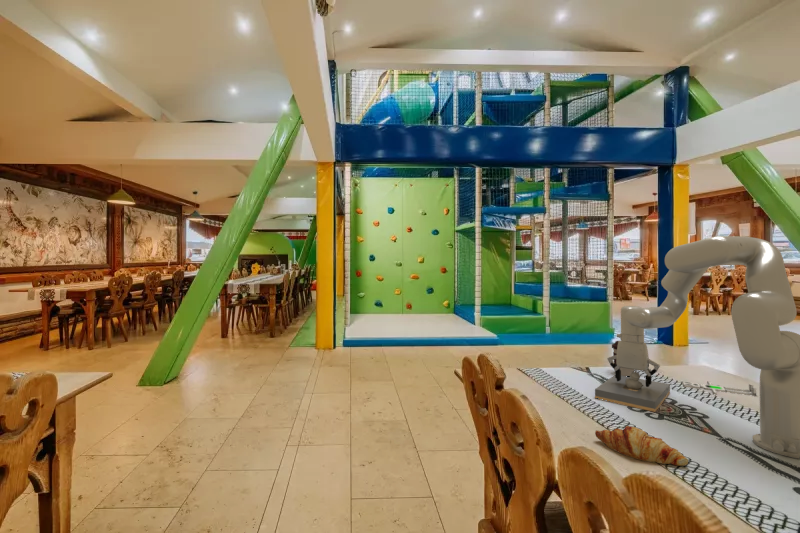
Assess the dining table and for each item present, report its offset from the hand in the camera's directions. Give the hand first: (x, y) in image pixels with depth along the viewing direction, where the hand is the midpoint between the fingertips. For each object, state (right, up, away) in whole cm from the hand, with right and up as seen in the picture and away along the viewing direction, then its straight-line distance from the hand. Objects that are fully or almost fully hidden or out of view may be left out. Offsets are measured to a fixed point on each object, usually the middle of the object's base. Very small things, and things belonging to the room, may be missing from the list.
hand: (632, 383), depth 142 cm
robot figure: (+38, -5, +6) cm, 39 cm away
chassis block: (0, -5, 0) cm, 5 cm away
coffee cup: (+13, -5, +28) cm, 31 cm away
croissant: (-26, -5, -44) cm, 51 cm away
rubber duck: (0, -2, 0) cm, 2 cm away
